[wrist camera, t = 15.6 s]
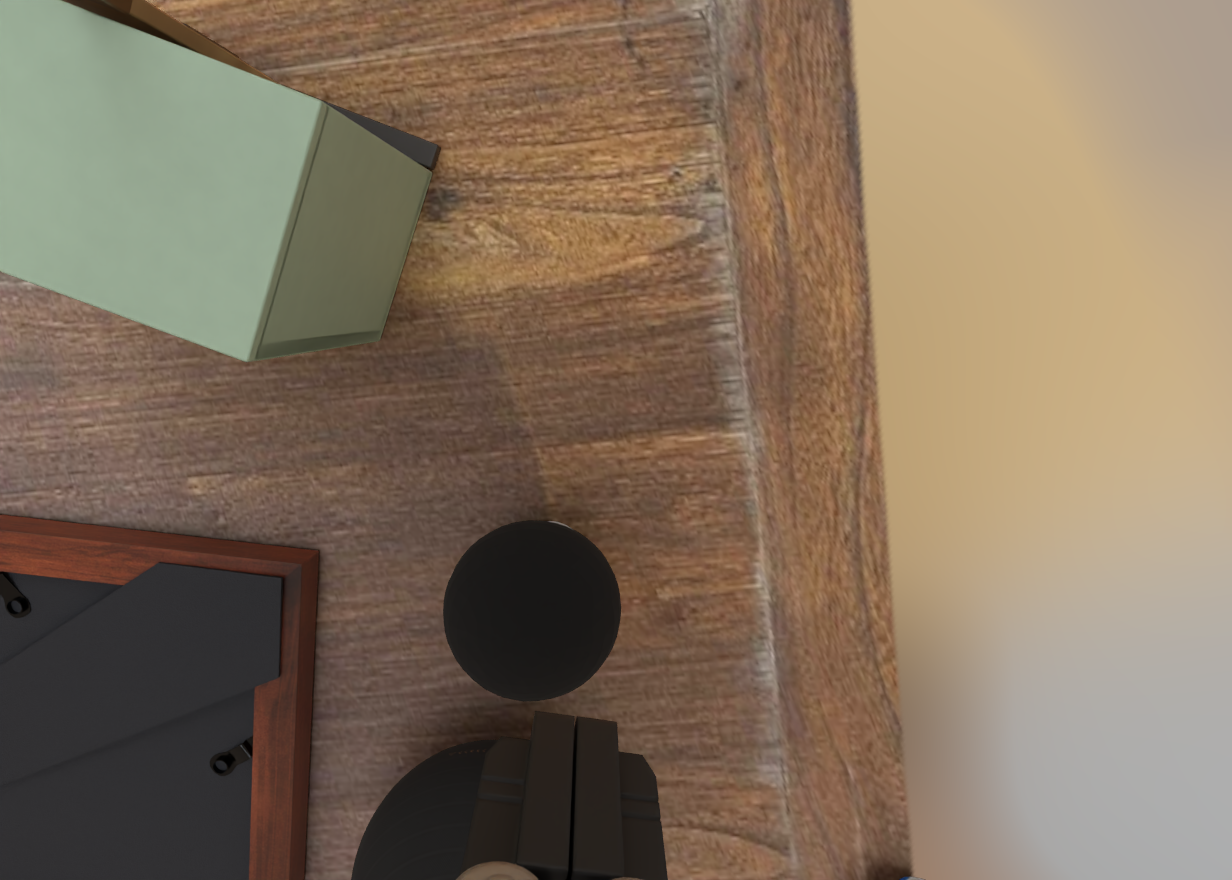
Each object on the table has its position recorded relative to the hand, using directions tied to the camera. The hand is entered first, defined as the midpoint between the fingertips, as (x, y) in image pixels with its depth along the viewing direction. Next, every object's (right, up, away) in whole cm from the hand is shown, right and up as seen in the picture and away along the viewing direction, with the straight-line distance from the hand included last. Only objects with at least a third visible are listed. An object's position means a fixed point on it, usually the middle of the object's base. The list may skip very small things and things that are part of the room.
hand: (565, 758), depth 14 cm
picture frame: (-25, -7, +21) cm, 34 cm away
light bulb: (-2, +1, +19) cm, 19 cm away
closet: (-13, +15, +17) cm, 26 cm away
